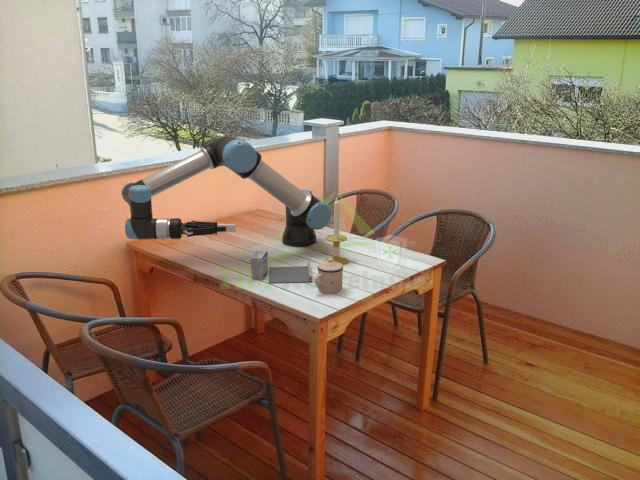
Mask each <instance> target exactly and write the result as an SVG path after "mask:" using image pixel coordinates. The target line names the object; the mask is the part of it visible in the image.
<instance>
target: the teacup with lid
mask: <svg viewBox="0 0 640 480" xmlns="http://www.w3.org/2000/svg"><path fill="white" fill-rule="evenodd" d="M327 258H328V257H327ZM343 271H344V265H342V264H341V263H339V262H336V261H333V259H332V258H328V261H325V262H324V261H323V262H320V263H318V265H317V275H316V276H315V278H314V285H315V286H316V287H317V289H318V292H320V293H322V294H327V295H333V294H334V295H335V294H339V293H341V292H342V291H343V276H344V275H343V274H344V273H343Z"/></svg>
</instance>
